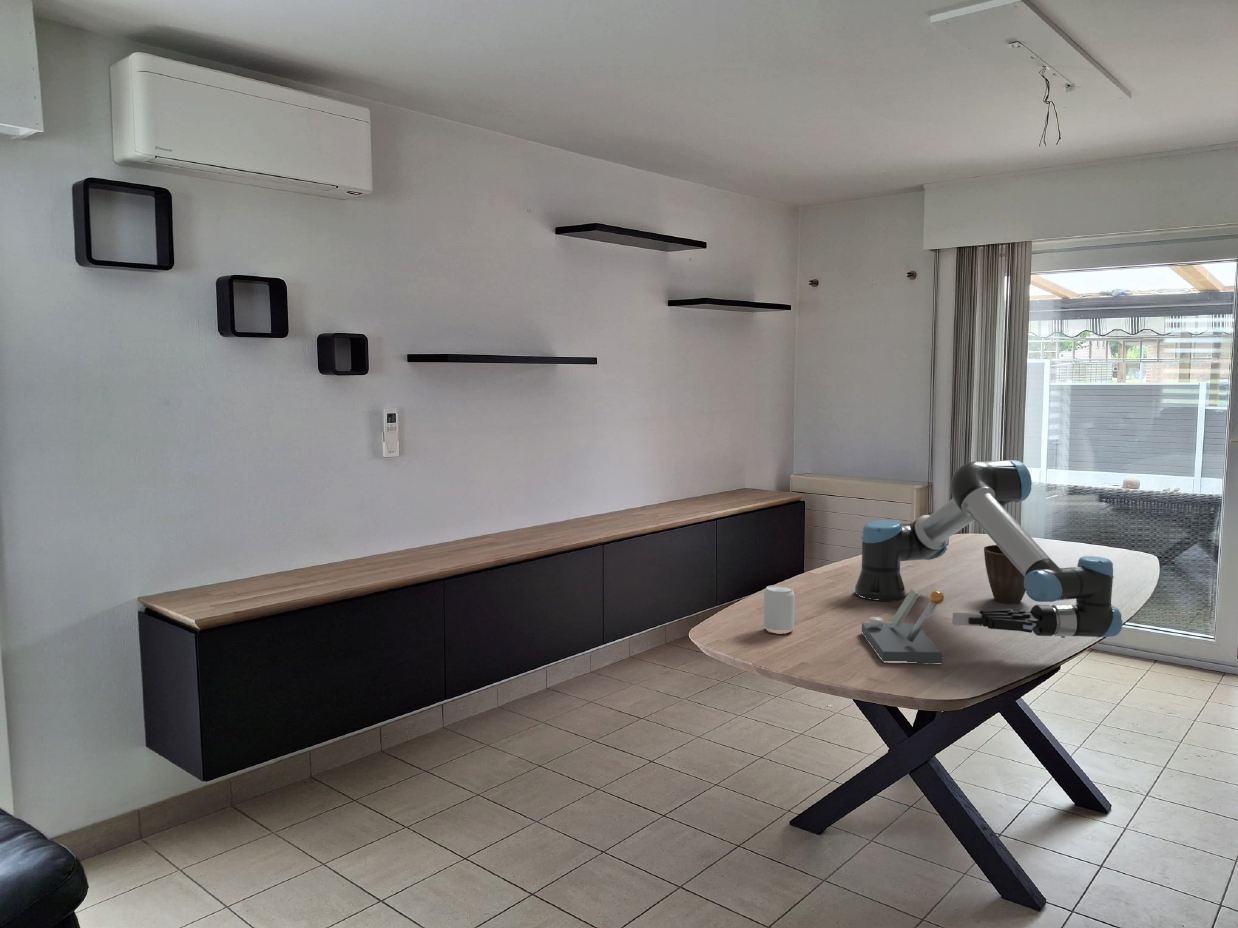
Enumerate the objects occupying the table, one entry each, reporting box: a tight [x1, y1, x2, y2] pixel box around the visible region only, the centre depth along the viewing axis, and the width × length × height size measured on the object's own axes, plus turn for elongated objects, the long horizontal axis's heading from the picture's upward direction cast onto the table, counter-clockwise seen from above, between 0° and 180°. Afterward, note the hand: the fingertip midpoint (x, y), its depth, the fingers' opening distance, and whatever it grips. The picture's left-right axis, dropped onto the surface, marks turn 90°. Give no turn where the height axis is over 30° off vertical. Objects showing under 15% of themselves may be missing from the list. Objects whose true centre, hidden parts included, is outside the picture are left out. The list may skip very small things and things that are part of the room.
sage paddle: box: [891, 588, 920, 627], centre depth 230 cm, size 4×1×10 cm, turn 177°
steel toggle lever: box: [906, 590, 945, 642], centre depth 216 cm, size 3×3×14 cm
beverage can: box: [763, 584, 796, 630], centre depth 238 cm, size 8×8×12 cm
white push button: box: [868, 616, 884, 627], centre depth 231 cm, size 4×4×2 cm
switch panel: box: [861, 622, 943, 664], centre depth 224 cm, size 24×14×3 cm, turn 177°
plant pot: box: [983, 544, 1026, 605], centre depth 269 cm, size 15×15×16 cm
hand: (953, 618), depth 215 cm, fingers closed
